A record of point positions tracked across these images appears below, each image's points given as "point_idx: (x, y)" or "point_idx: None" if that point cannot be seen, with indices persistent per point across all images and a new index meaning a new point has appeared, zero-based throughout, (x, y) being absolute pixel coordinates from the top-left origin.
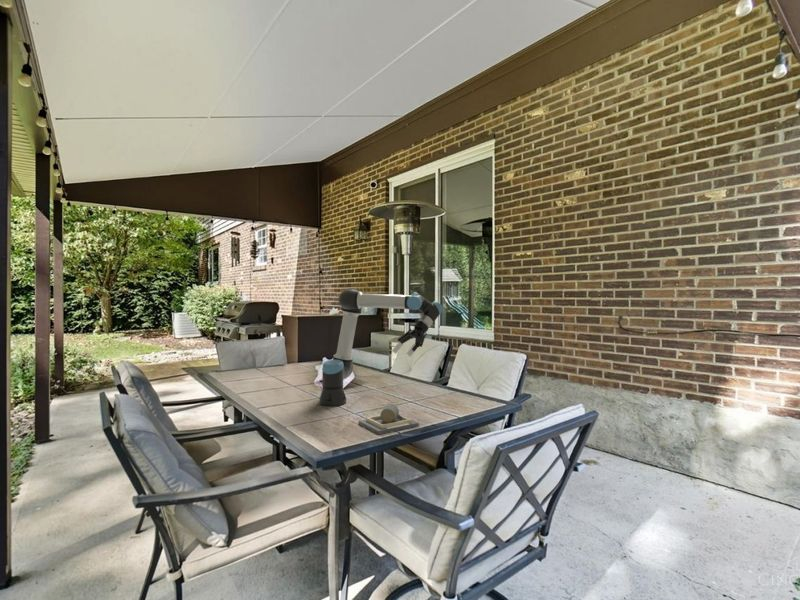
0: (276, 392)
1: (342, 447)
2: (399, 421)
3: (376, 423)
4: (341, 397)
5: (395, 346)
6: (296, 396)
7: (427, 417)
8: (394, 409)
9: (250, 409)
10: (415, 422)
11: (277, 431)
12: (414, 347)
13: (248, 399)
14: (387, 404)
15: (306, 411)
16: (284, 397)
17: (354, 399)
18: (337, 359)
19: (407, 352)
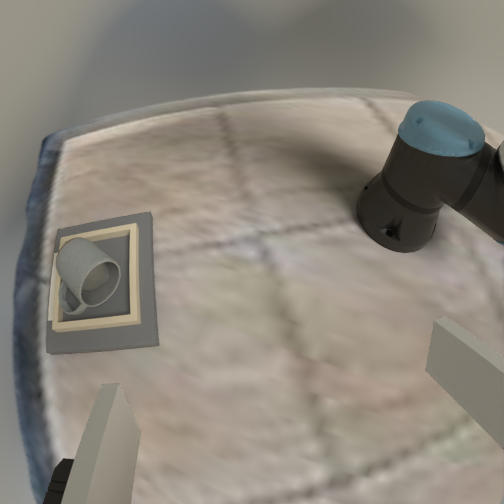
0: None
1: (58, 164)
2: (56, 290)
3: (85, 233)
4: (376, 216)
5: (483, 346)
6: None
7: None
8: (63, 271)
9: (357, 90)
10: (52, 346)
11: (197, 98)
12: (56, 493)
13: None
14: (94, 259)
15: (319, 147)
16: None
17: (426, 286)
18: (498, 147)
19: (111, 392)
